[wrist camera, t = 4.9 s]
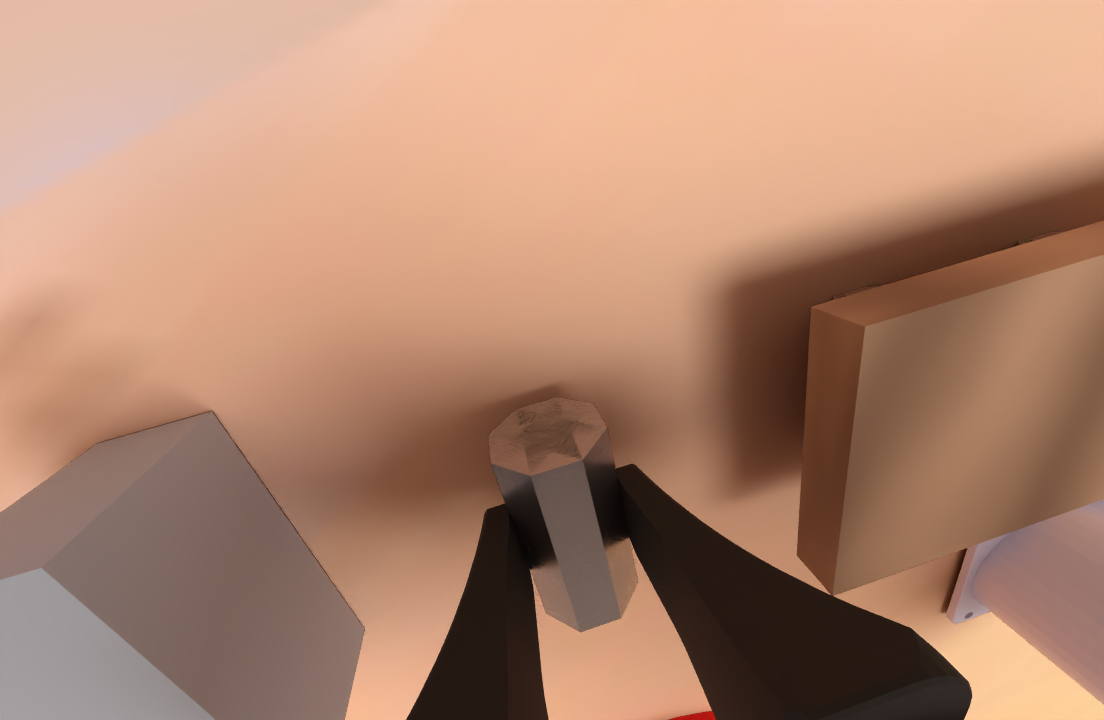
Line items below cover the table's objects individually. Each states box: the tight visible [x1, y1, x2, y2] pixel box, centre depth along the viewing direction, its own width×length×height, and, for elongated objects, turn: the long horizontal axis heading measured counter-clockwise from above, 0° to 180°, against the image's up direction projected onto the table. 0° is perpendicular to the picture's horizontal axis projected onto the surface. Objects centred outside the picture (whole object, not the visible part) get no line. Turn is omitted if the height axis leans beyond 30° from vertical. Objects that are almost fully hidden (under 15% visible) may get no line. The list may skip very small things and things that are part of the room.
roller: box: [488, 397, 638, 632], centre depth 12 cm, size 3×6×3 cm, turn 13°
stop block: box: [0, 411, 365, 720], centre depth 11 cm, size 3×10×5 cm, turn 13°
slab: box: [797, 220, 1104, 596], centre depth 12 cm, size 16×9×2 cm, turn 103°
